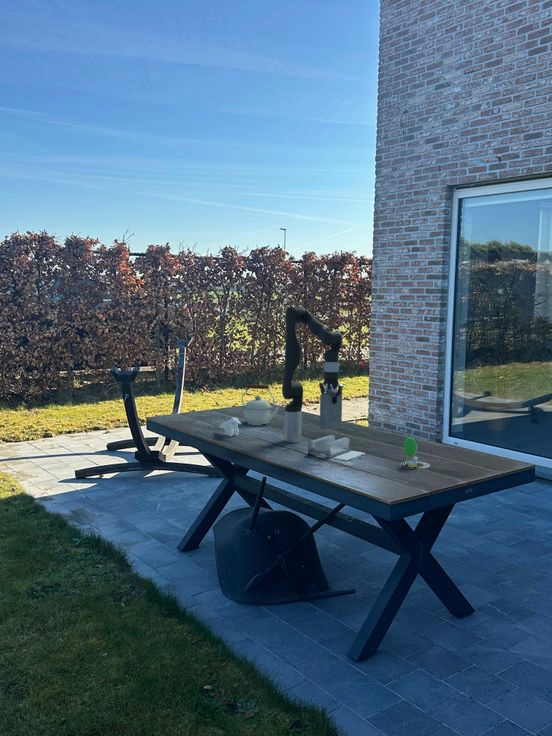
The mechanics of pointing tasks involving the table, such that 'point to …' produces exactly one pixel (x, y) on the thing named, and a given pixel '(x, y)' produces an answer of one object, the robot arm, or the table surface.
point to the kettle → (258, 408)
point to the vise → (329, 446)
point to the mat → (349, 455)
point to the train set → (412, 453)
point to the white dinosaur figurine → (231, 427)
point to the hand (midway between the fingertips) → (330, 403)
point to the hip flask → (330, 410)
